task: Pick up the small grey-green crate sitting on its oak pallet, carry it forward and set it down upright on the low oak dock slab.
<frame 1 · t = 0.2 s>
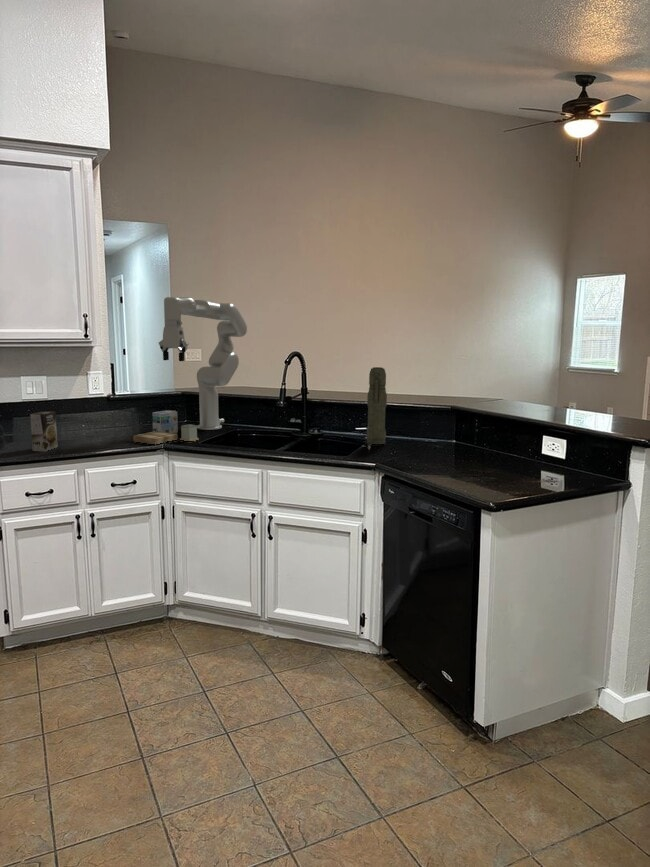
hand: (173, 360, 304), 36 cm above the worktop, tool pointing down, fingers open, 9 cm apart
light bulb box: (165, 433, 317), on the worktop
thermos: (375, 443, 297), on the worktop
dock: (155, 441, 297), on the worktop
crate: (189, 440, 299), on the worktop
coffee box: (45, 449, 278), on the worktop
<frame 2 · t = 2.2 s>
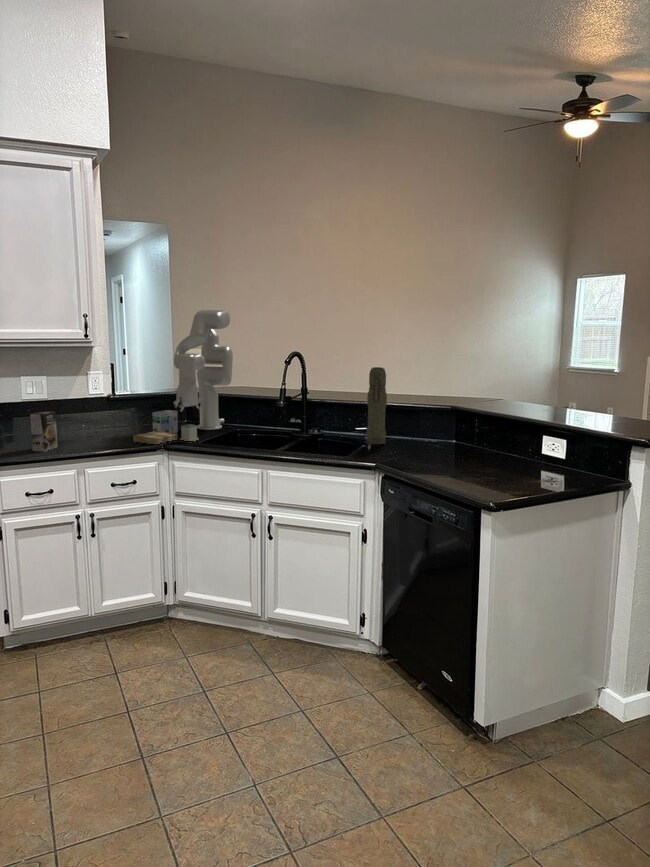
hand: (188, 418, 297), 10 cm above the worktop, tool pointing down, fingers open, 9 cm apart
nothing on the worktop moved.
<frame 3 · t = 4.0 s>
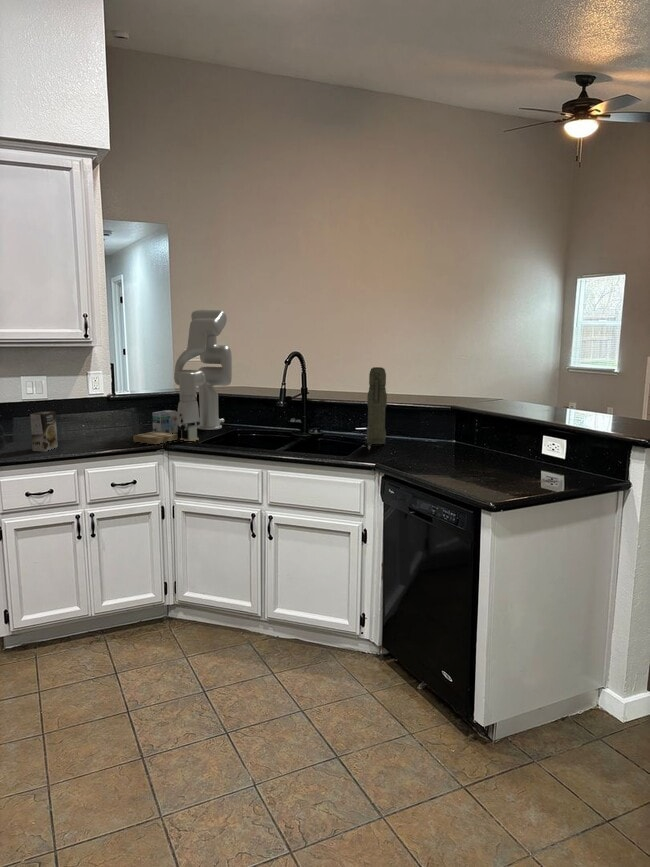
hand: (189, 437, 299), 2 cm above the worktop, tool pointing down, fingers closed on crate, 5 cm apart
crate: (189, 440, 299), on the worktop, touching gripper
everything else where it was.
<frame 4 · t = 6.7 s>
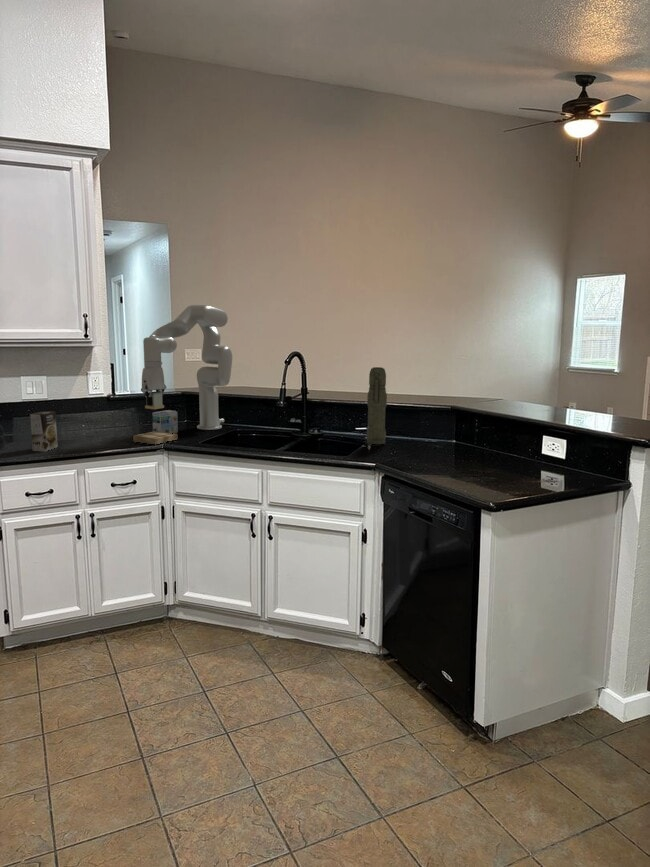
hand: (154, 404, 294), 17 cm above the worktop, tool pointing down, fingers closed on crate, 5 cm apart
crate: (154, 408, 294), point 16 cm above the worktop, touching gripper
everything else where it was.
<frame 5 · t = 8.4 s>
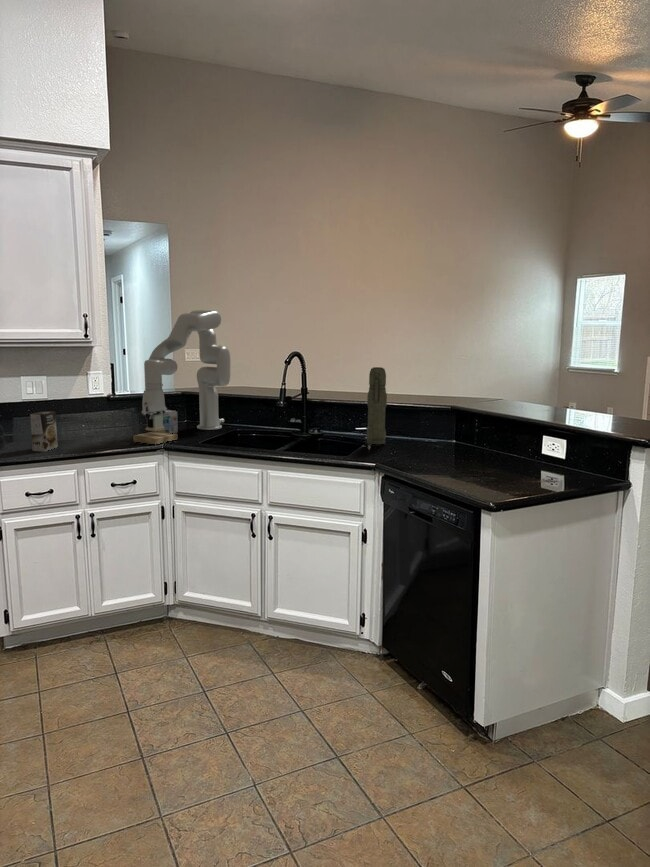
hand: (155, 426, 295), 7 cm above the worktop, tool pointing down, fingers closed on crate, 5 cm apart
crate: (155, 429, 296), point 6 cm above the worktop, touching gripper
everything else where it was.
when the fingers open (6 cm above the worktop, at t = 9.5 s): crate drops 1 cm, resting on dock.
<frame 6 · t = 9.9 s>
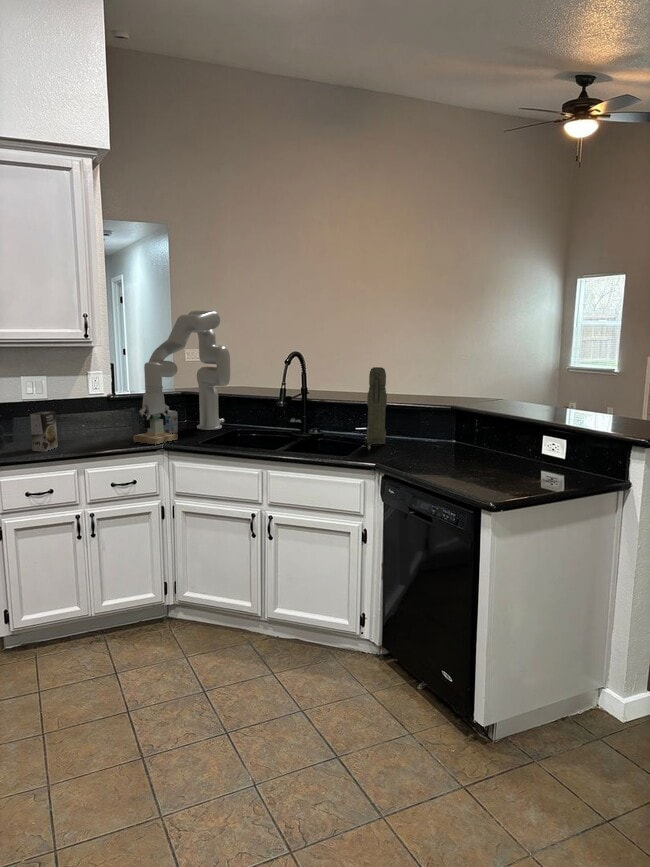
hand: (155, 426, 296), 7 cm above the worktop, tool pointing down, fingers open, 9 cm apart
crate: (155, 434, 296), point 3 cm above the worktop, touching dock
everything else where it was.
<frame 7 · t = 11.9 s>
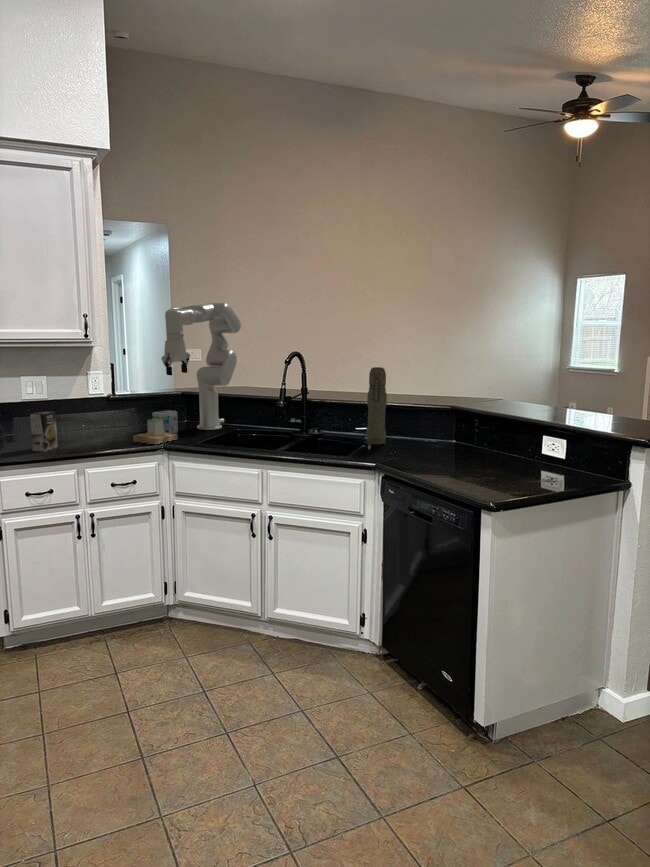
hand: (177, 373, 301), 30 cm above the worktop, tool pointing down, fingers open, 9 cm apart
nothing on the worktop moved.
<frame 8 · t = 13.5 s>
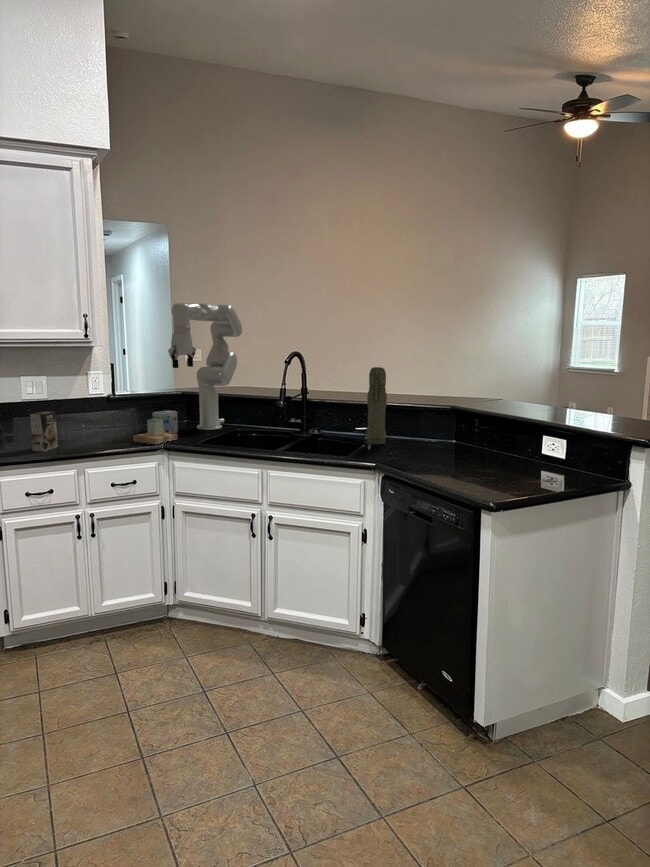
hand: (182, 367, 303), 33 cm above the worktop, tool pointing down, fingers open, 9 cm apart
nothing on the worktop moved.
at the end: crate inside the target area on the dock (0.1 cm from its centre), point 3.0 cm above the dock's base; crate tilted 0°; the gripper is holding nothing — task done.
